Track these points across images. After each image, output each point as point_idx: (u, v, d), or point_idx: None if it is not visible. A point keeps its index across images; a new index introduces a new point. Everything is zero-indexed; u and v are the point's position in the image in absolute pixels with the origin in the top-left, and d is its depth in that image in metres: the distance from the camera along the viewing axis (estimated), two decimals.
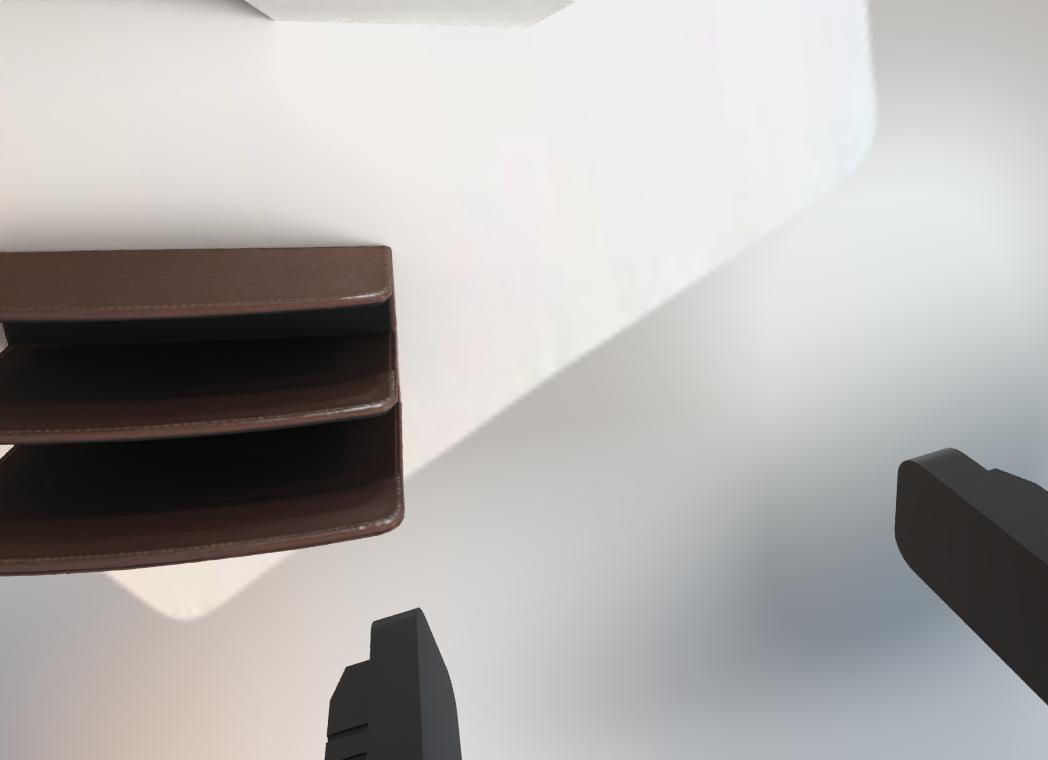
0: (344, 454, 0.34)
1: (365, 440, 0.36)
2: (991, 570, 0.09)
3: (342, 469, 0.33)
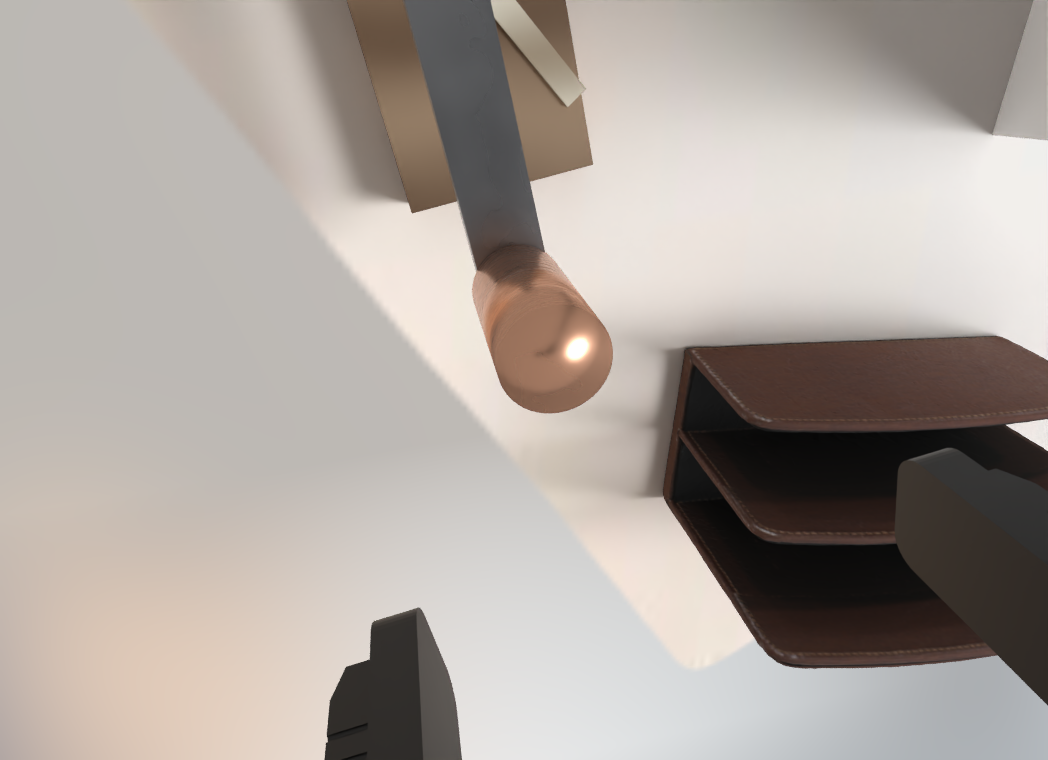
0: None
1: None
2: (991, 570, 0.09)
3: None
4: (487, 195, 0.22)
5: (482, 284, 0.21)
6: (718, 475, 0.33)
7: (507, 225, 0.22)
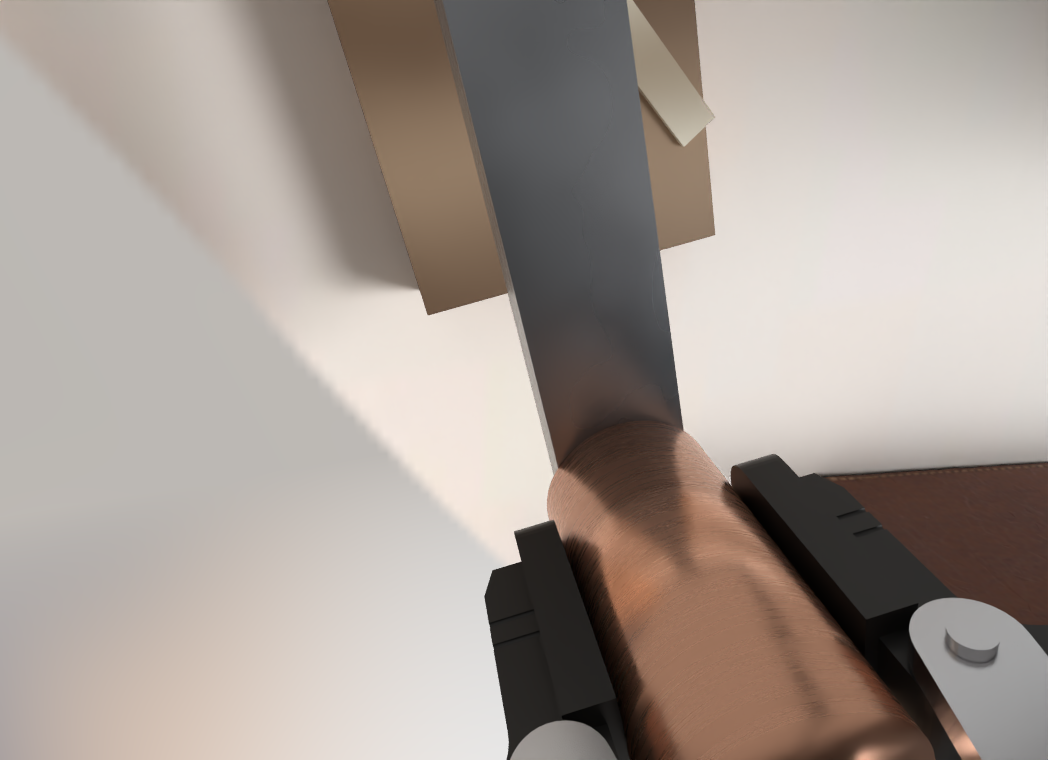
0: None
1: None
2: None
3: None
4: (586, 338, 0.11)
5: (578, 518, 0.11)
6: None
7: (618, 389, 0.12)
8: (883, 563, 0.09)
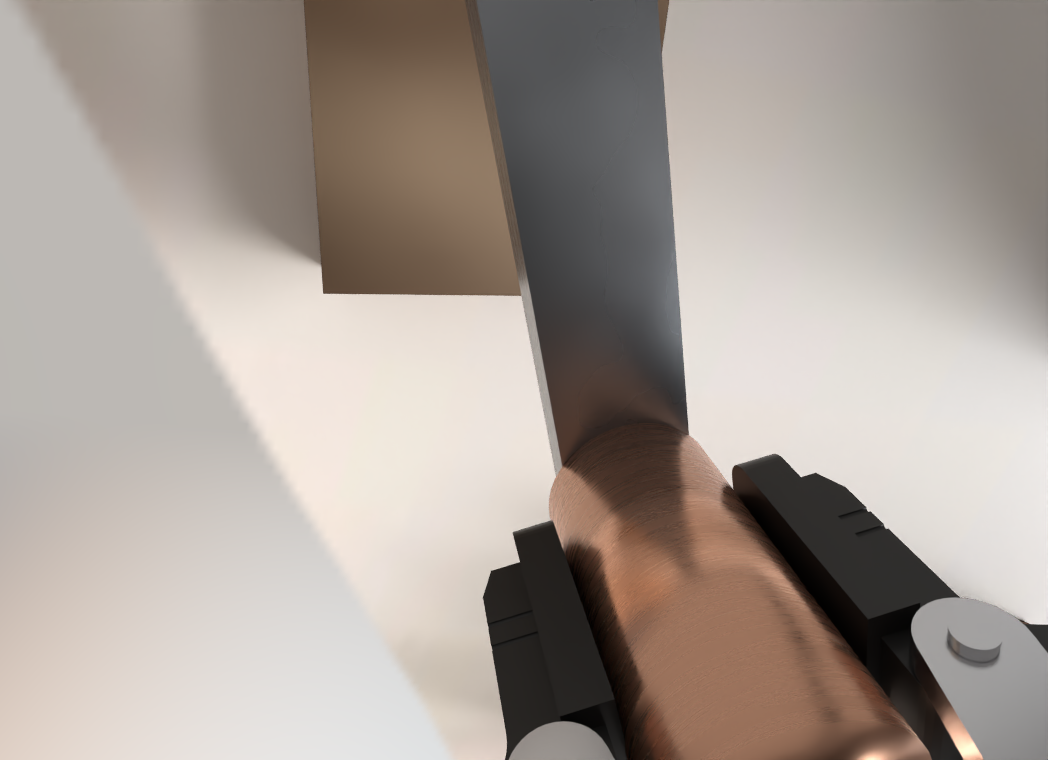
0: None
1: None
2: (792, 567, 0.10)
3: None
4: (597, 338, 0.11)
5: (581, 517, 0.11)
6: None
7: (627, 390, 0.12)
8: (885, 563, 0.09)
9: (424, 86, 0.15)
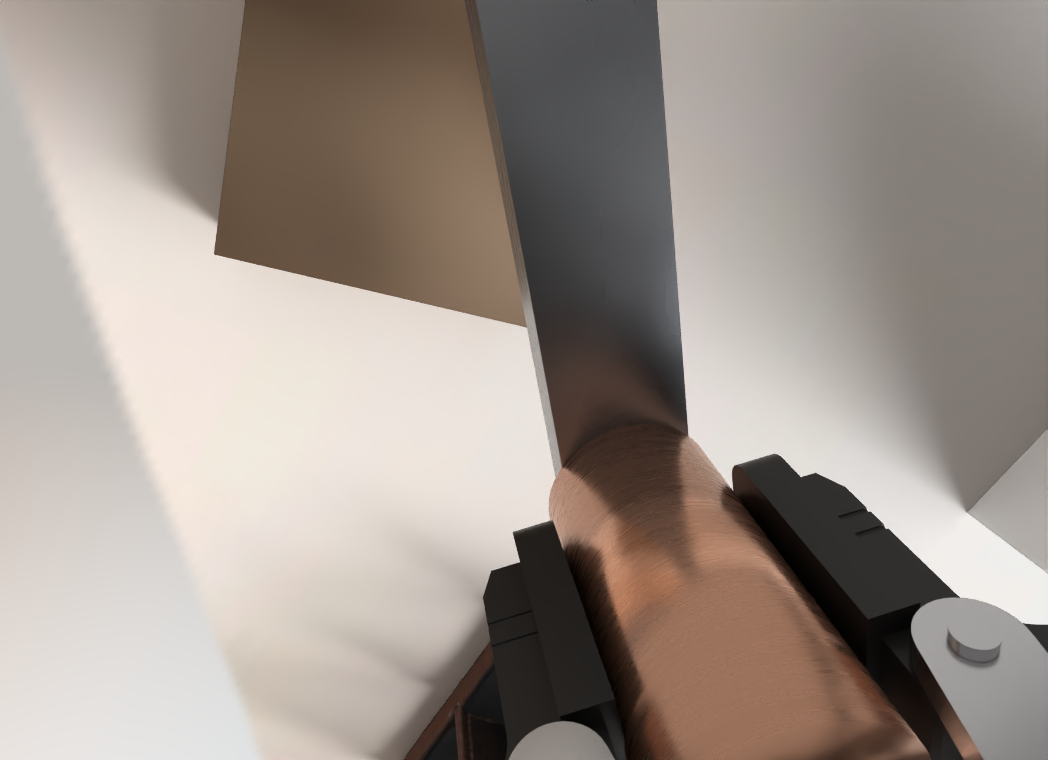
0: None
1: None
2: (792, 567, 0.10)
3: None
4: (597, 339, 0.11)
5: (581, 518, 0.11)
6: None
7: (627, 392, 0.12)
8: (885, 563, 0.09)
9: (361, 70, 0.15)
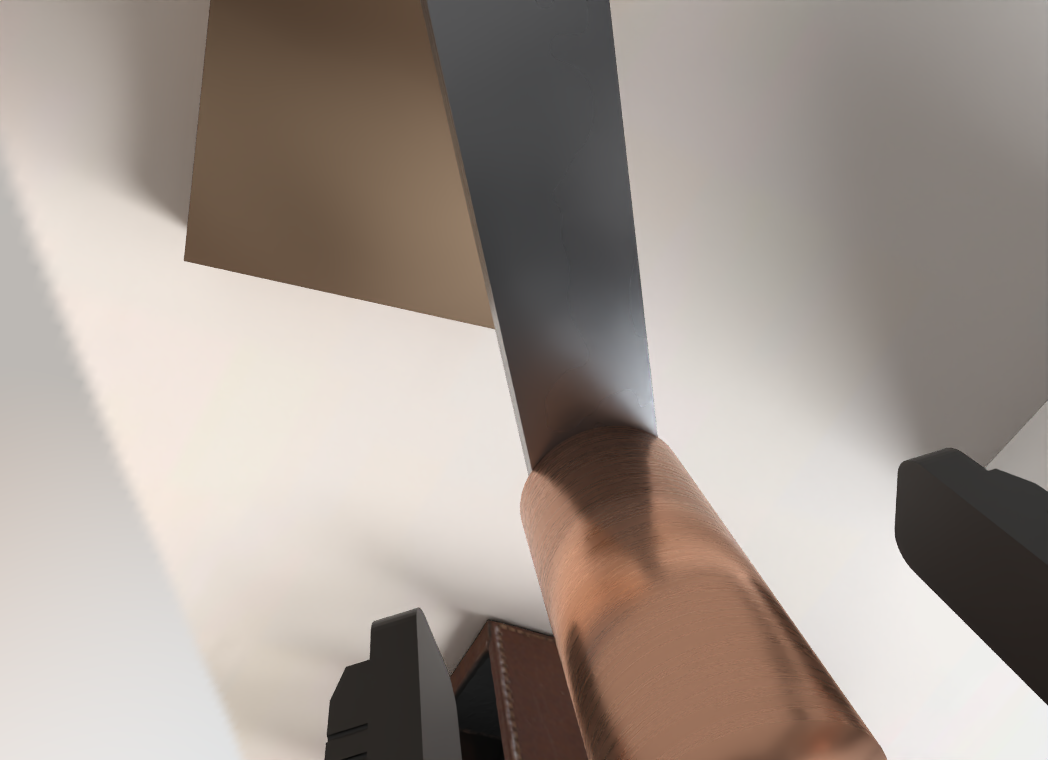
0: None
1: None
2: (991, 570, 0.09)
3: None
4: (563, 342, 0.11)
5: (548, 521, 0.11)
6: None
7: (595, 394, 0.12)
8: None
9: (327, 75, 0.15)
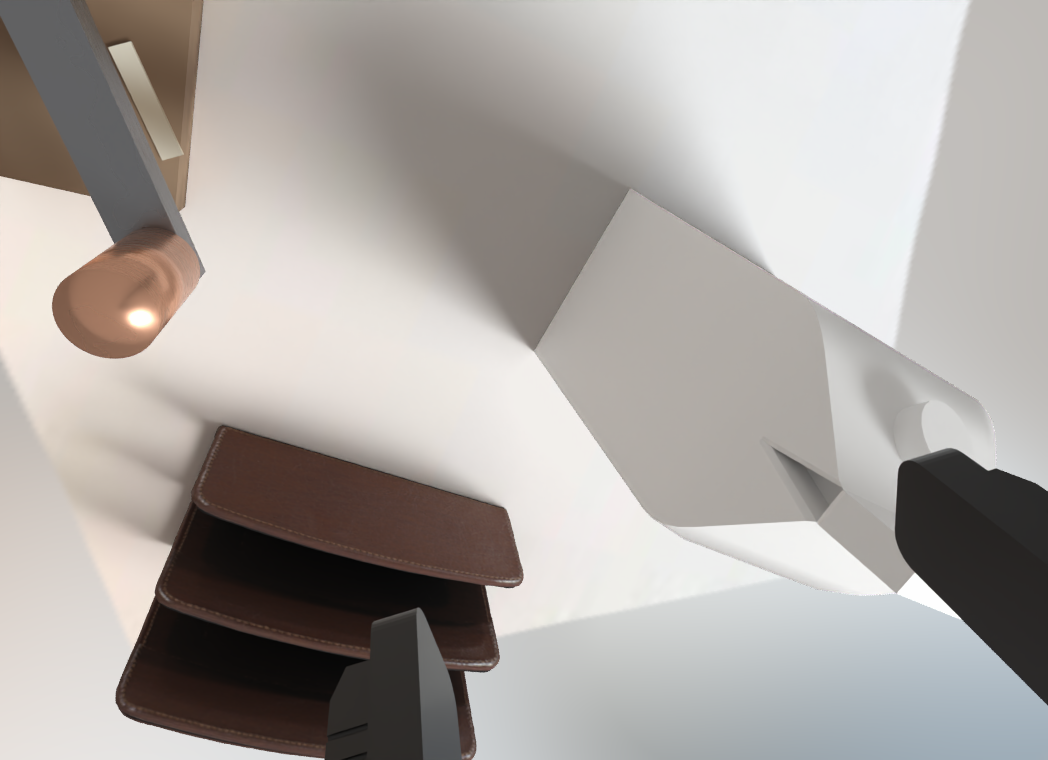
0: None
1: None
2: (991, 570, 0.09)
3: None
4: (113, 185, 0.26)
5: None
6: (181, 539, 0.37)
7: (136, 211, 0.27)
8: None
9: None
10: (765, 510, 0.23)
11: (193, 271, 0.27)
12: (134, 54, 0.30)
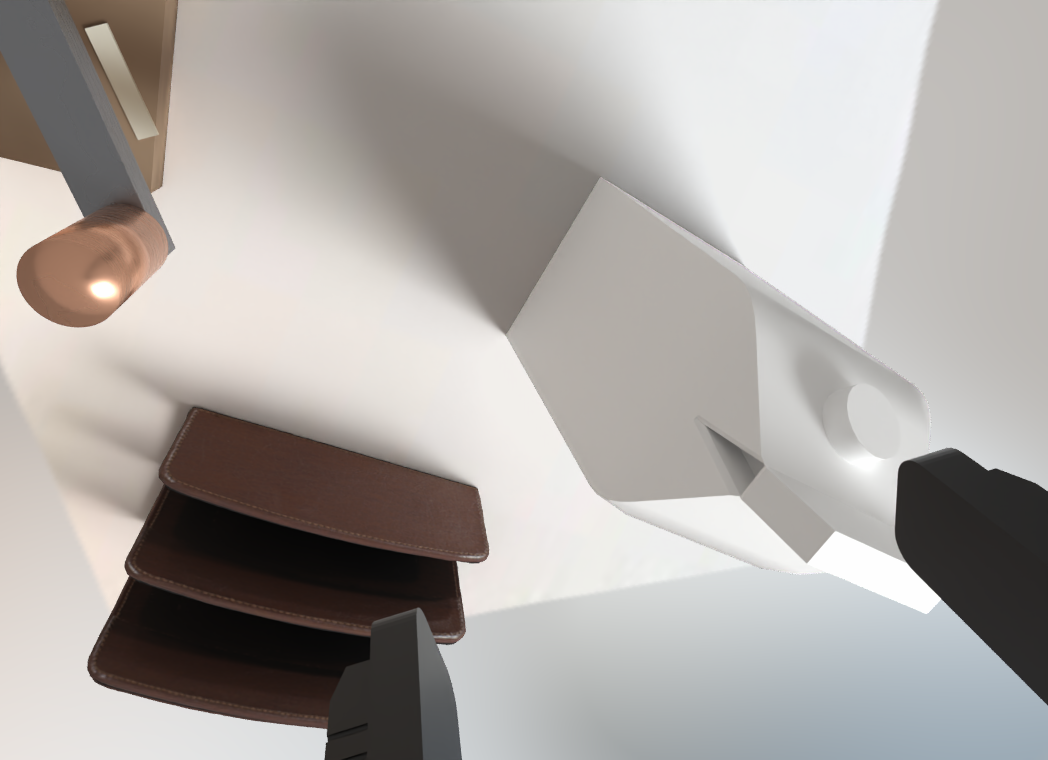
0: None
1: None
2: (991, 570, 0.09)
3: None
4: (83, 162, 0.27)
5: None
6: (153, 516, 0.39)
7: (106, 187, 0.28)
8: None
9: None
10: (695, 485, 0.24)
11: (160, 247, 0.28)
12: (110, 36, 0.31)
